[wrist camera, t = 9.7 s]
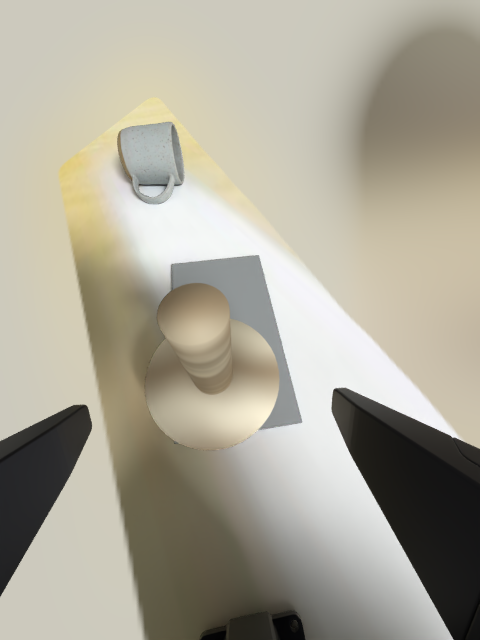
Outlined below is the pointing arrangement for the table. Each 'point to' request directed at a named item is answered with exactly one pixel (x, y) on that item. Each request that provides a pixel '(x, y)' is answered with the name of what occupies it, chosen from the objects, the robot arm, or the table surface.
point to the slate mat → (247, 316)
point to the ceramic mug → (152, 157)
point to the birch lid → (209, 372)
